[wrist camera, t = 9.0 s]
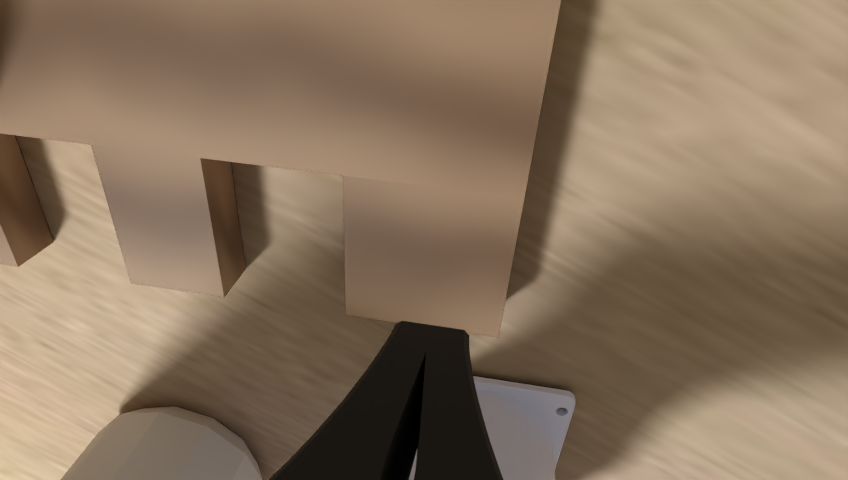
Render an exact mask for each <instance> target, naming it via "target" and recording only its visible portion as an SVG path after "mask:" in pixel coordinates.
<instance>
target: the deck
mask: <svg viewBox="0 0 848 480" xmlns="http://www.w3.org/2000/svg"><path fill="white" fill-rule="evenodd" d="M560 4H561V0H0V264H2V265H9V266H16V267H19V266H20V265H21V264H23V263H24V262H26V261H27V260H29V259H30V258H31V257H33V256H34V255H36V254H37V253H39V252H40V251H41V250H43V249H44V248H46V247H47V246H49V245H50V244H51V243H53V239H52V236H51V233H50V231H49V228H48V225H47V222H46V220H45V217H44V214H43V211H42V208H41V206H40V203H39V200H38V197H37V195H36V192H35V189H34V186H33V184H32V181H31V178H30V175H29V173H28V170H27V167H26V164H25V162H24V159H23V156H22V153H21V151H20V148H19V145H18V142H17V140H16V137H15V135H17V136H25V137H33V138H41V139H49V140H57V141H65V142H73V143H82V144H90V145H91V147H92V150H93V154H94V157H95V161H96V164H97V168H98V171H99V175H100V178H101V182H102V185H103V189H104V192H105V196H106V199H107V203H108V206H109V210H110V213H111V217H112V220H113V224H114V227H115V231H116V234H117V238H118V241H119V245H120V248H121V251H122V255H123V258H124V262H125V265H126V269H127V272H128V276H129V279H130V283H131V284H138V285H145V286H152V287H158V288H165V289H172V290H179V291H185V292H192V293H199V294H206V295H213V296H219V297H225V295H226V294H227V293H228V292H229V290H230V289H231V288H232V286H233V285H234V284H235V282H236V281H237V280H238V279H239V277H240V276H241V275H242V273H243V272H244V271H245V269H246V268H245V261H244V254H243V246H242V239H241V232H240V225H239V218H238V211H237V204H236V197H235V189H234V182H233V175H232V168H231V162H236V163H244V164H252V165H260V166H269V167H277V168H285V169H293V170H301V171H309V172H317V173H325V174H334V175H342V176H343V202H344V255H345V309H346V315H348V316H355V317H362V318H369V319H375V320H382V321H389V322H396V323H399V322H400V321H408V322H414V323H421V324H428V325H435V326H442V327H448V328H455V329H462V330H465V331H466V333H470V334H477V335H484V336H491V337H497V338H499V333H500V327H501V322H502V317H503V311H504V306H505V300H506V295H507V290H508V284H509V279H510V273H511V268H512V263H513V257H514V252H515V246H516V241H517V236H518V230H519V225H520V220H521V214H522V209H523V203H524V198H525V193H526V187H527V182H528V176H529V171H530V166H531V160H532V155H533V149H534V144H535V139H536V133H537V128H538V122H539V117H540V112H541V106H542V101H543V95H544V90H545V85H546V79H547V74H548V68H549V63H550V58H551V52H552V47H553V41H554V36H555V31H556V25H557V20H558V14H559V9H560Z"/></svg>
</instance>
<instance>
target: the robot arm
mask: <svg viewBox="0 0 848 480" xmlns="http://www.w3.org/2000/svg"><path fill="white" fill-rule="evenodd" d="M575 405H576V401H575V396H574V394H573V393H571V392H570V391H567V390H561V389H554V388H548V387H541V386H535V385H528V384H522V383H515V382H509V381H503V380H496V379H490V378H483V377H477V376H473V373H472V367H471V361H470V352H469V335H468V334H467V333H466V331H465V330H462V329H455V328H448V327H442V326H435V325H428V324H421V323H414V322H408V321H400V322H399V323H397V324H396V325H395V327H394V329H393V331H392V332H391V334H390V336H389V338H388V339H387V341H386V342H385V344H384V346H383V347H382V349H381V350H380V352H379V353H378V355H377V356H376V357H375V359H374V360H373V362H372V363H371V365H370V366H369V367H368V369H367V370H366V372H365V373H364V374H363V375H362V377H361V378H360V379H359V381H358V382H357V383H356V384H355V386H354V387H353V388H352V390H351V391H350V392H349V394H348V395H347V396H346V397H345V399H344V400H343V401H342V402H341V403H340V405H339V406H338V407H337V408H336V409H335V410H334V412H333V413H332V414H331V415H330V416H329V417H328V418H327V420H326V421H325V422H324V423H323V424H322V425H321V426H320V428H319V429H318V430H317V431H316V432H315V433H314V434H313V435H312V437H311V438H310V439H309V440H308V441H307V442H306V443H305V444H304V445H303V446H302V447H301V448H300V449H299V450H298V451H297V452H296V453H295V454H294V455H293V456H292V457H291V459H290V460H289V461H288V462H286V463H285V464H284V465H283V466H282V467H281V468H280V469H279V470H278V471H277V472H276V473H275V474H274V475H273V476H272V477H271V478H270V479H269V480H555V468H556V465H557V462H558V459H559V456H560V453H561V449H562V446H563V443H564V440H565V437H566V434H567V430H568V427H569V424H570V421H571V418H572V415H573V411H574V408H575ZM559 408H564V409H559Z"/></svg>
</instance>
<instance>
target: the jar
mask: <svg viewBox="0 0 848 480" xmlns="http://www.w3.org/2000/svg"><path fill="white" fill-rule="evenodd" d="M61 480H263V479H262V476H261V473H260V470H259V467H258V464H257V462H256V460H255V459H254V457H253V455H252V454H251V452H250V450H249V449H248V447H247V445H246V444H245V442H244V440H243V439H242V438H240V437H239V436H237V435H236V434H235V433H233V432H232V431H230V430H229V429H228V428H226V427H225V426H223V425H222V424H221V423H219V422H218V421H216V420H215V419H213V418H211V417H208V416H205V415H202V414H199V413H195V412H192V411H189V410H186V409H183V408H179V407H176V406H172V407H156V408H143V409H139V410H135V411H131V412H127V413H123V414H120V415H119V416H117V417H116V418H115V419H114V420H113V421H112V422H110V423H109V424H108V425H107V426H106V427H105V428H103V429H102V430H101V431H100V432H99V433H98V434H97V435H96V437H95V438H94V439H93V440H92V441H91V443H90V444H89V445H88V446H87V448H86V449H85V450H84V451H83V453H82V454H81V455H80V456H79V458H78V459H77V460H76V461H75V463H74V464H73V465H72V466H71V467H70V469H69V470H68V471H67V472H66V474H65V475H64V476H63V477H62V479H61Z"/></svg>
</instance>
